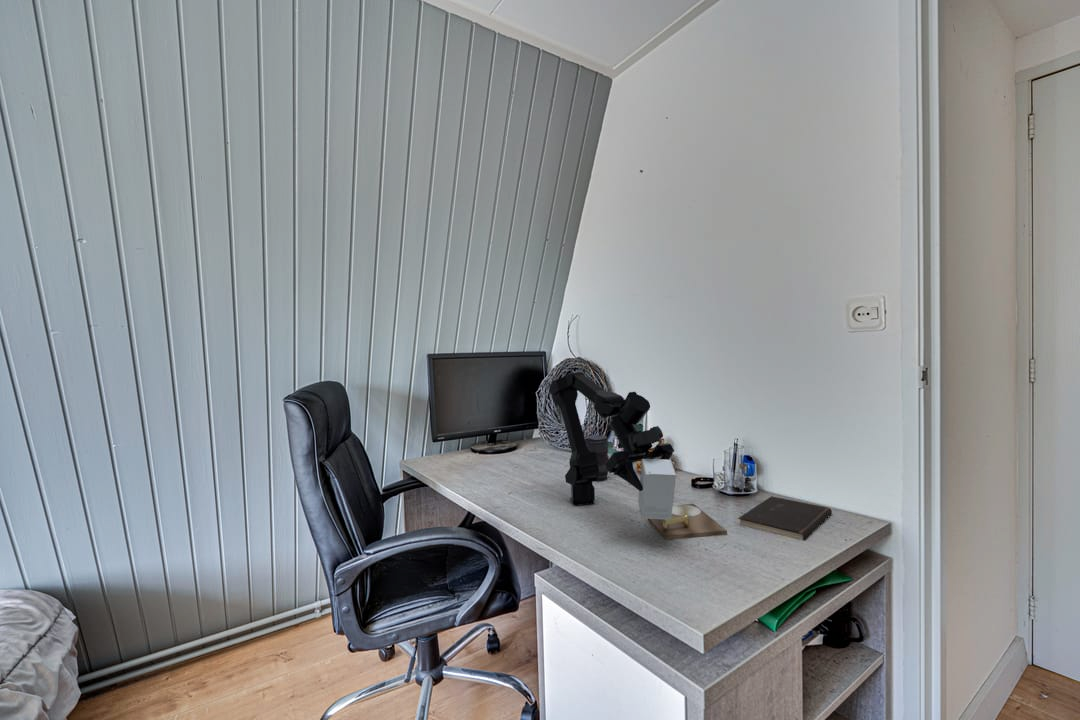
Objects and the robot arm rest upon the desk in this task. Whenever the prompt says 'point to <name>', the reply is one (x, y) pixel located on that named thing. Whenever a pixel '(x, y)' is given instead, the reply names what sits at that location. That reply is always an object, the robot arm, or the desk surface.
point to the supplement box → (657, 489)
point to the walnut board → (689, 524)
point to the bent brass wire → (677, 520)
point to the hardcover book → (786, 517)
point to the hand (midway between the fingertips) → (656, 486)
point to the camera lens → (599, 453)
